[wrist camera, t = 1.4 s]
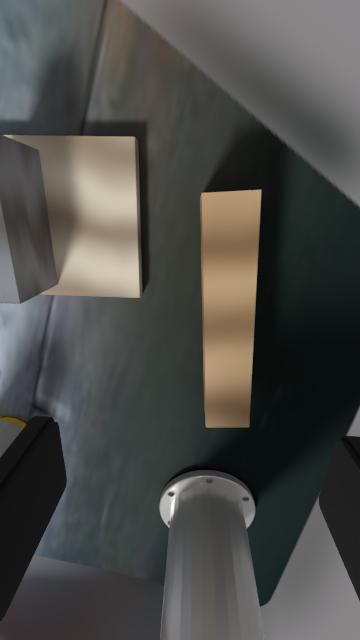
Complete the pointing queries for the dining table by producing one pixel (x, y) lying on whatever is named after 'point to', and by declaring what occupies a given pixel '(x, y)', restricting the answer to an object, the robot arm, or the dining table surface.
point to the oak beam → (229, 302)
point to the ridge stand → (69, 217)
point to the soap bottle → (9, 431)
